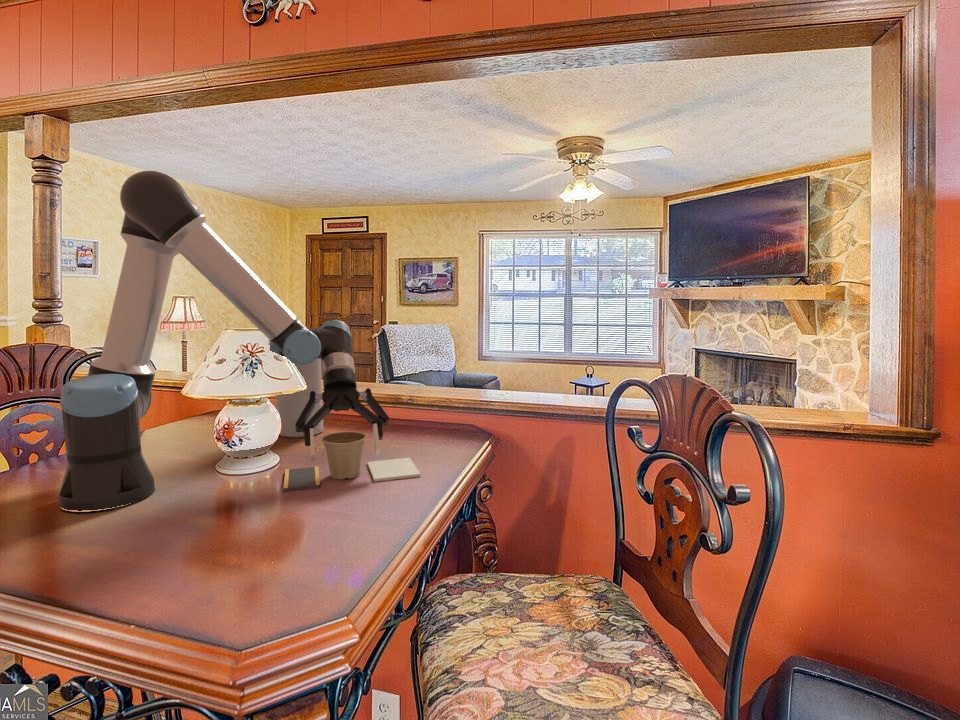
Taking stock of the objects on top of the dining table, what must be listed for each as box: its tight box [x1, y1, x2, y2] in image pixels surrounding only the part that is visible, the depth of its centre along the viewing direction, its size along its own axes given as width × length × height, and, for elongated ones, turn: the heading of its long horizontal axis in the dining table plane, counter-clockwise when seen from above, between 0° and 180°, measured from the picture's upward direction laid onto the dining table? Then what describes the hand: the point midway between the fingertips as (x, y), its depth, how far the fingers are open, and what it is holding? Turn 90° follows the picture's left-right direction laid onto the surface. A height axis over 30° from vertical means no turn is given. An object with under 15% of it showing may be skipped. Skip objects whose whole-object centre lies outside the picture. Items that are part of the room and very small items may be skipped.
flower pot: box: [321, 431, 367, 481], centre depth 113 cm, size 9×9×9 cm
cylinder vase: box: [275, 359, 324, 439], centre depth 148 cm, size 12×12×25 cm
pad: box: [367, 457, 421, 482], centre depth 117 cm, size 10×12×1 cm
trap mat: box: [283, 465, 321, 492], centre depth 111 cm, size 7×12×1 cm, turn 19°
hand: (346, 455), depth 111 cm, fingers open, 13 cm apart
